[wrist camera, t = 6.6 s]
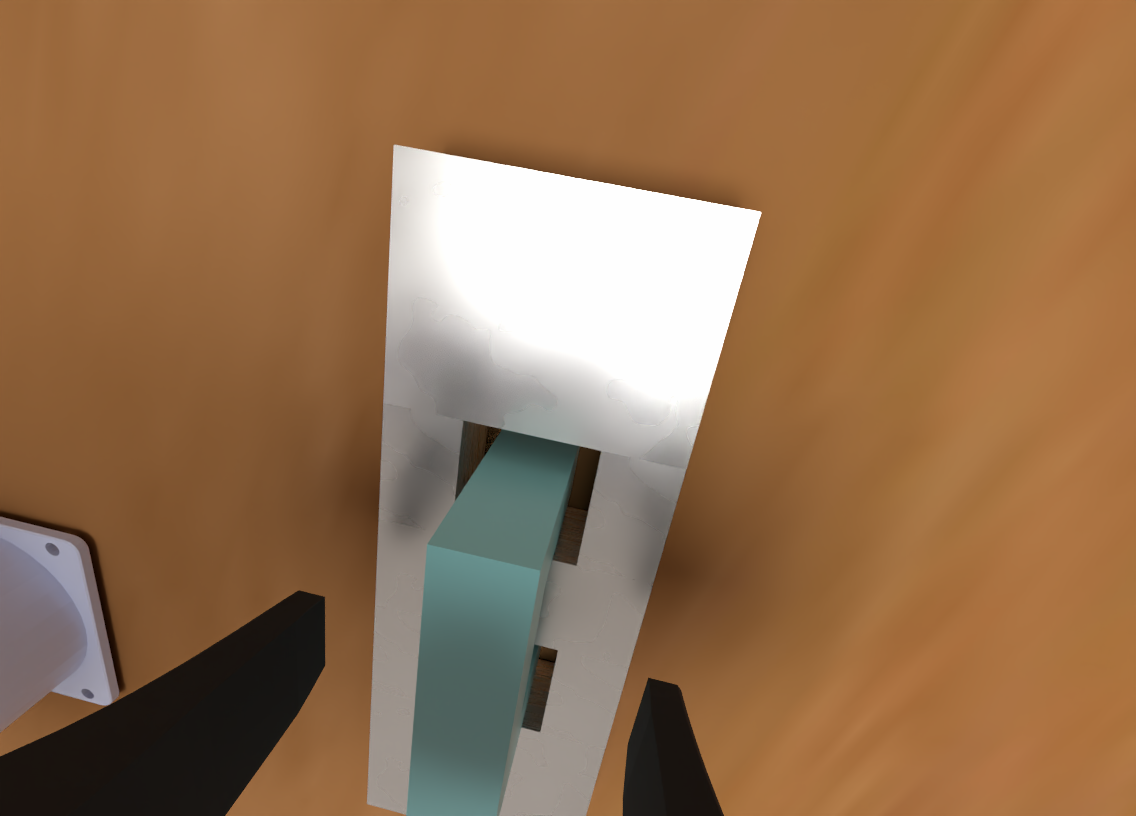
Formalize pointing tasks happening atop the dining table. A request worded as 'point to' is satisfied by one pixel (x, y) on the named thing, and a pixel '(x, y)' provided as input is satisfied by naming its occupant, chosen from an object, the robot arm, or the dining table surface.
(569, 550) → the white slotted slab
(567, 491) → the teal rectangular plank
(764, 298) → the dining table surface
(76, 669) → the robot arm
